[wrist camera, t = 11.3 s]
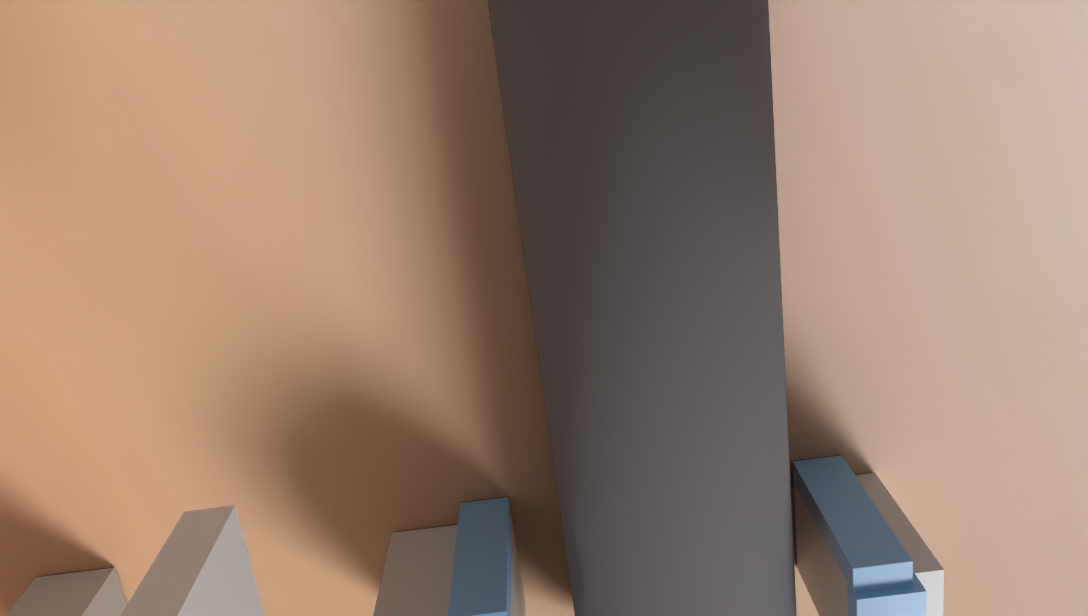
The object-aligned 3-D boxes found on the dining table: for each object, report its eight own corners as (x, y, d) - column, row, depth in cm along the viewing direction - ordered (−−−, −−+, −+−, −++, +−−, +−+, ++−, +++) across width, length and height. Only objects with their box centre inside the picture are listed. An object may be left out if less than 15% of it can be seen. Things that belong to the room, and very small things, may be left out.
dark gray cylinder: (552, 654, 24) (650, 798, 19) (441, -67, 18) (543, -96, 14) (721, 586, 25) (846, 704, 21) (668, -94, 20) (825, -128, 15)
